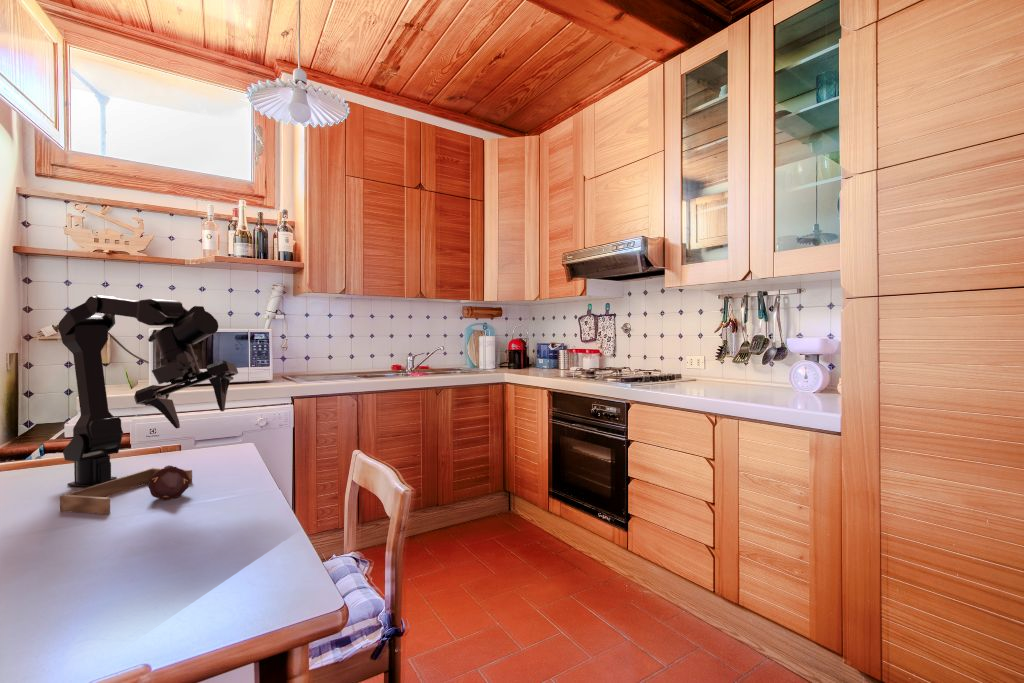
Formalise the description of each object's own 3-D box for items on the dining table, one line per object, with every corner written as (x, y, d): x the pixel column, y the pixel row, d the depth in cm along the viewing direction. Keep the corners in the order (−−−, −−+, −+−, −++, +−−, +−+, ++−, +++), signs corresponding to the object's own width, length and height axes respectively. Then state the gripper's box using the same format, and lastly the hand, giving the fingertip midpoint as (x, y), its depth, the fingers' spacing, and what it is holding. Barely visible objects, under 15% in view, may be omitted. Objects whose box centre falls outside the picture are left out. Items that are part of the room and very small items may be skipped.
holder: (60, 510, 95) (59, 495, 95) (152, 480, 115) (152, 467, 115) (106, 514, 93) (106, 499, 93) (192, 482, 114) (192, 469, 114)
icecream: (198, 472, 100) (189, 463, 112) (156, 469, 96) (150, 460, 107) (189, 506, 99) (180, 494, 110) (145, 505, 94) (141, 493, 106)
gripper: (106, 364, 95) (130, 437, 94) (205, 330, 99) (229, 400, 98) (140, 370, 106) (162, 436, 104) (227, 340, 110) (250, 403, 108)
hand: (200, 419), depth 103 cm, fingers open, 9 cm apart
